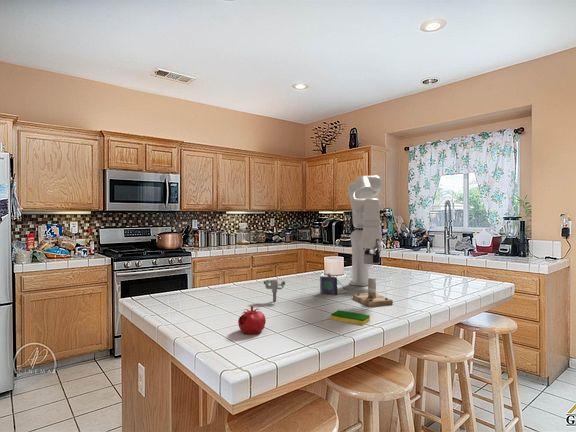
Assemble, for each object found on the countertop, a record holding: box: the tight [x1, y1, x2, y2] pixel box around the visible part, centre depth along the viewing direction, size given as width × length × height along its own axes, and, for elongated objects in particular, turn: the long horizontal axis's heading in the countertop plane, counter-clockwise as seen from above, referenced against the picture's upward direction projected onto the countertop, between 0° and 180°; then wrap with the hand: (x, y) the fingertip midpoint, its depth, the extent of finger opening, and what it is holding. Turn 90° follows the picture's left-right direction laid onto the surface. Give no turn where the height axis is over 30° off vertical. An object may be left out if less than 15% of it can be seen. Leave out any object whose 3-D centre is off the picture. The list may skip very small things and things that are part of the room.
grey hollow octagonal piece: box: [364, 252, 381, 266], centre depth 170 cm, size 7×7×4 cm
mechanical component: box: [263, 279, 286, 303], centre depth 171 cm, size 3×10×10 cm, turn 79°
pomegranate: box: [237, 305, 267, 335], centre depth 130 cm, size 10×10×9 cm
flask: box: [319, 273, 338, 296], centre depth 187 cm, size 9×3×11 cm, turn 65°
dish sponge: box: [330, 309, 371, 326], centre depth 143 cm, size 7×14×2 cm, turn 56°
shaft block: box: [352, 277, 394, 307], centre depth 171 cm, size 16×12×11 cm
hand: (371, 261), depth 170 cm, fingers closed on grey hollow octagonal piece, 7 cm apart
